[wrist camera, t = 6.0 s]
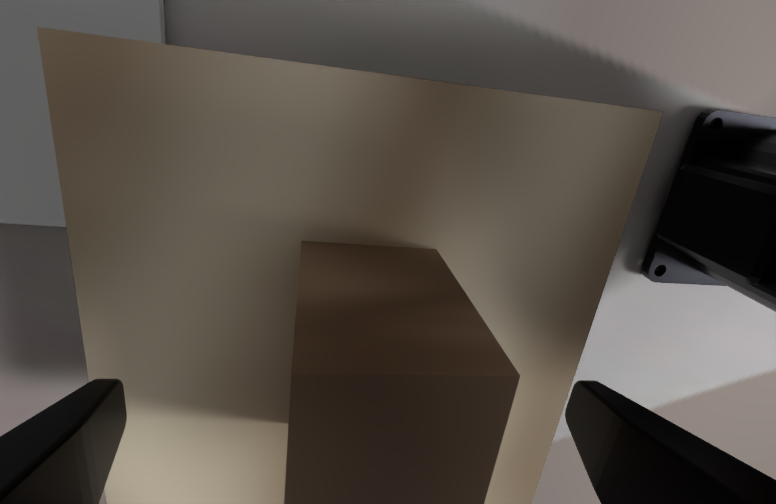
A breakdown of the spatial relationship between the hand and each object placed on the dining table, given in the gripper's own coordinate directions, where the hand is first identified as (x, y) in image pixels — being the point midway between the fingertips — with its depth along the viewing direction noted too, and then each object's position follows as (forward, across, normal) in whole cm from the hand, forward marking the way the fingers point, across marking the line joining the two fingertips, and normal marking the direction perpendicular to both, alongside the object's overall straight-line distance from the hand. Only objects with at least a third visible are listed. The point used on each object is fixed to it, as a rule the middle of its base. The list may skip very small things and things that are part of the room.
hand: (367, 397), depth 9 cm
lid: (+3, 0, 0) cm, 3 cm away
